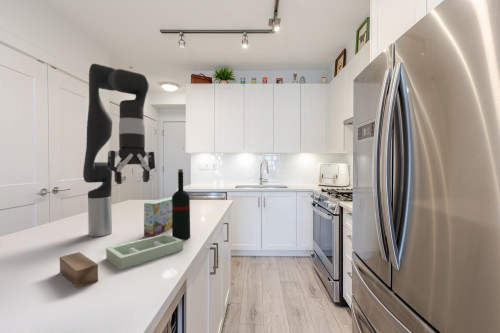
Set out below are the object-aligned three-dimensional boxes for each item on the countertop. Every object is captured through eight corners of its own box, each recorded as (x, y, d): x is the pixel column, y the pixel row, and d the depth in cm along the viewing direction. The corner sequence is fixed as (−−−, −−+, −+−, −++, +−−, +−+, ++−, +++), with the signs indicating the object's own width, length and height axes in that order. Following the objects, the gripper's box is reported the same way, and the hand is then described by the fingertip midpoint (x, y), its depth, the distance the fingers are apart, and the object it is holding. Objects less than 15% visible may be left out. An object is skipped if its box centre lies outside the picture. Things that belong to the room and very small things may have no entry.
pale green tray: (106, 258, 82) (106, 248, 82) (165, 242, 99) (165, 233, 99) (121, 269, 74) (120, 258, 74) (183, 249, 90) (183, 240, 90)
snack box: (154, 237, 105) (154, 203, 105) (143, 236, 106) (142, 203, 106) (178, 224, 126) (178, 196, 126) (168, 224, 127) (168, 196, 127)
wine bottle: (185, 232, 112) (184, 168, 112) (193, 238, 104) (192, 169, 103) (168, 235, 108) (167, 169, 107) (174, 241, 99) (173, 169, 99)
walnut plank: (76, 289, 63) (76, 270, 62) (60, 273, 72) (59, 257, 72) (98, 282, 66) (97, 264, 66) (79, 267, 76) (79, 252, 76)
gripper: (147, 136, 86) (148, 181, 86) (103, 132, 75) (104, 183, 75) (158, 134, 81) (159, 182, 81) (112, 130, 70) (113, 185, 70)
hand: (132, 182), depth 78 cm, fingers open, 8 cm apart
